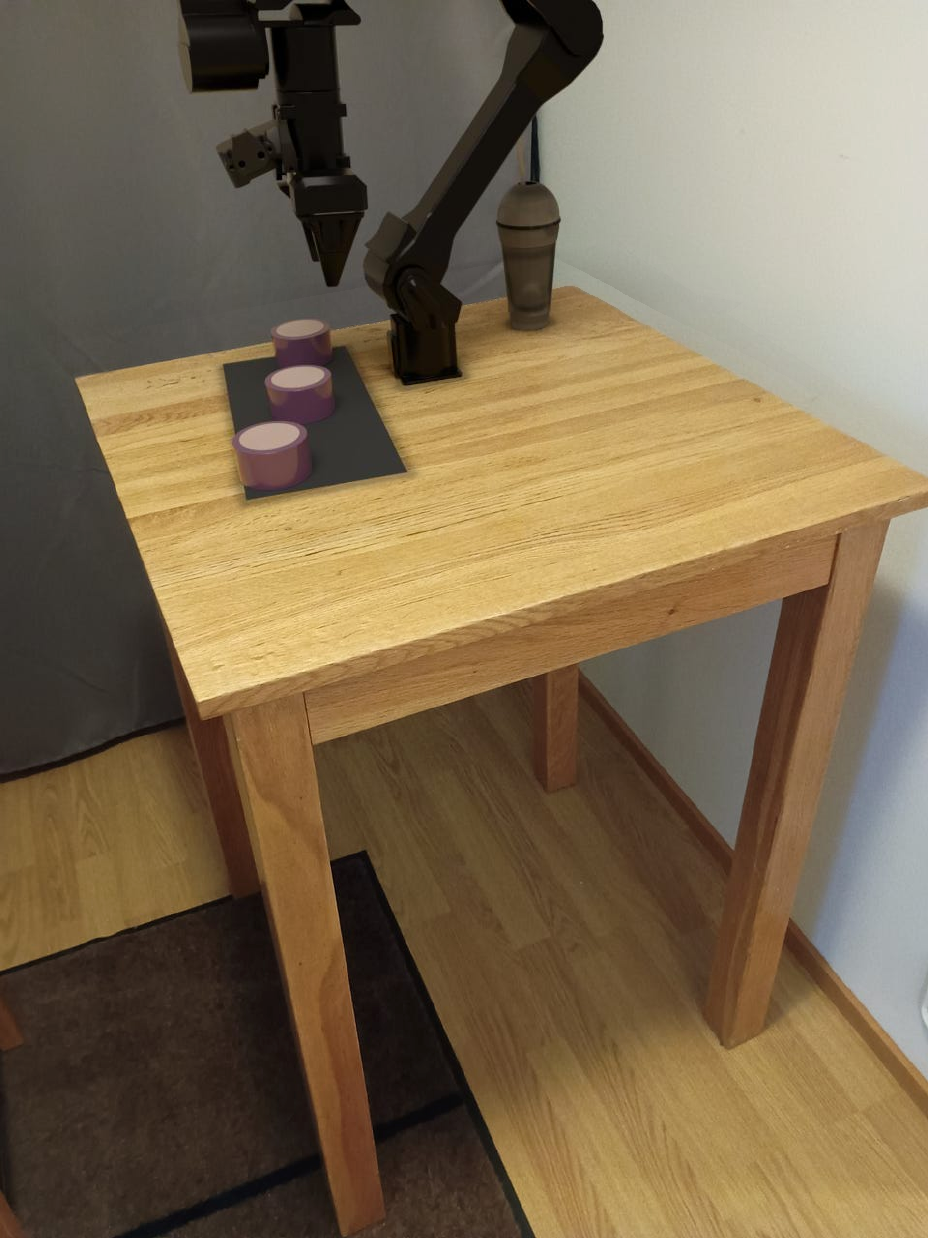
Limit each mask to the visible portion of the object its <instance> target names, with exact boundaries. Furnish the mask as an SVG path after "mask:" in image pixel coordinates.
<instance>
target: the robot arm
mask: <svg viewBox="0 0 928 1238" xmlns="http://www.w3.org/2000/svg"><path fill="white" fill-rule="evenodd" d="M293 1H294V0H176V6H177V7H176V8H177V13H178V16H177V31H178V32H177V33H178V41H176V45H177V53H178V58H179V64H180V68H181V72H182V77H183V81H184V84H185V88H186V90H187V92H188V94H189V95H201V94H219V93H220V94H221V93H238V92H240V93H241V92H256V91H258V89H259V85H260V80H266V77H269V73H270V55H271V61H272V62H271V64H272V75H273V81H274V91H275V99H273V103H270V108H271V117H272V118H271V119H270V120H268V121H266V122H264V123H261V124H258V125H256V126H253V127H251V128H247V127H245V128H243V130H242V131H241V132H239V133H237V134H234V133H232V134H230V138H228V139H225V140H224V141H222V142H220V143H218V144H216V146H215V150H216V152H217V155H218V157H219V159H220V161H221V163H222V165H223V167H224V169H225V171H226V173H227V176H228V177H229V180H230V181H231V184H232V186H233V187H234V189H240V188H243V187H246V186H247V185H249V184H251V181H253V180H255V179H256V178H259V177H261V176H263V175H265V174H268V173H269V172H271V171H272V175H273V177H274V179H275V182H276V181H277V182H276V186H277V187H278V188H279V189H278V190H280V191H281V192H282V193H283V194H284V195H285V196H286V197H287V198H288V199H290V202H291V207H292V210H291V211H292V212H293V214H294V217H295V218H296V219H297V220H298V221H299V222H300V225H301V228H302V231H303V235H304V238H305V242H306V244H307V248H308V251H309V255H310V258H311V261H312V262H314V263H319V265H320V268H321V272H322V277H323V279H324V283H325V286H326V287H327V288H336V287H338V286H339V285H340V282H341V279H342V275H343V273H344V270H345V267H346V263H347V260H348V258H349V255H350V251H351V249H352V246H353V243H354V241H355V238H356V235H357V233H358V229H359V227H360V224H361V223H362V220H363V218H364V217H365V214H366V210H369V198H368V185H367V184H366V183H364V181H363V180H362V179H361V178H360V177H359V176H358V175H357V174H356V173H355V172H353V171H352V169H351V168H352V167H351V166H352V165H351V156H350V154H348V153H347V152H346V151H347V150H346V135H345V123H344V121H345V120H344V118H348V108H347V103H346V102H345V101H343V93H342V81H341V67H340V66H341V65H340V52H339V51H340V50H339V40H338V27H350V26H351V27H352V26H354V27H355V26H359V25H361V23H362V18H361V16H360V14H358V13H357V12H356V11H355V10H354V9H353V8H352V7H351V6H350V5H349V4H348V2H347V1H346V0H324V1H323V2H294V3H292V2H293ZM498 1H499V3H500V6H501V8H502V10H503V11H504V13H505V15H506V16H507V17H508V19H509V20H510V21H511V22H512V23H513V25H514V28H513V29H512V30H513V31H512V32H511V35H510V37H509V40H508V41H507V46H506V50H505V54H504V60H503V64H502V69H501V73H500V75H499V77H498V79H497V80H496V83H495V84H494V86H492V89H491V90H490V92H489V93H488V95H487V96H486V98H485V99H484V101H483V102H482V104H481V106H480V108H479V109H478V110H477V112H476V114H475V115H474V117H473V118H472V120H471V121H470V122H469V124H468V126H467V127H466V129H465V131H464V132H463V134H462V135H461V137H460V138H459V140H458V141H457V142H456V144H455V146H454V147H453V149H452V150H451V152H450V154H449V155H448V156H447V158H446V160H445V161H444V163H443V164H442V166H441V168H440V169H439V170H438V172H437V174H436V175H435V177H434V178H433V180H432V181H431V183H430V185H429V186H428V188H427V189H426V190H425V192H424V194H423V195H422V197H421V199H420V200H419V201H418V203H417V204H416V206H415V207H414V208H413V209H411V210H410V211H409V212H407V213H405V214H404V215H403V216H402V217H400V216H399V215H396V214H395V213H394V212H391V211H387V212H386V213H385V215H384V216H383V218H382V220H381V222H380V225H379V226H378V229H377V231H376V232H375V234H374V235H373V236H372V238H370V239H369V240H368V241H366V242H365V243H364V247H365V248H366V249H368V250H367V252H366V254H365V256H364V257H363V258H364V259H363V262H362V269H363V275H364V280H365V282H366V283H367V286H368V288H370V289H371V291H373V293H375V294H376V295H377V296H378V297H379V298H380V299H382V300H383V301H384V302H385V304H386V306H387V308H389V309H390V310H392V311H394V312H395V313H391V314H389V320H390V321H389V323H390V329H387V330H386V332H385V335H386V342H387V351H388V363H389V368H390V370H391V372H392V374H393V375H394V376H396V377H397V378H398V380H399V381H400V383H401V384H402V386H404V387H409V386H416V385H422V384H427V383H433V382H441V381H445V380H452V379H458V378H462V377H463V375H464V374H463V371H462V369H461V368H460V367H459V365H458V364H459V363H458V348H457V346H458V345H457V333H456V324H457V323H458V322H459V318H460V315H461V311H462V308H463V301H462V300H461V299H460V298H458V297H457V296H456V295H455V294H454V293H452V292H451V291H449V289H447V287H445V286H444V285H443V284H442V282H443V280H444V277H446V273H447V272H448V269H449V264H450V260H451V255H452V251H453V246H454V241H455V238H456V235H457V234H458V232H459V231H460V229H461V228H462V226H463V225H464V223H465V222H466V220H467V218H469V216H470V214H471V212H472V211H473V210H474V208H475V207H476V205H477V204H478V202H479V201H480V199H481V198H482V196H483V195H484V193H485V192H486V190H487V188H488V187H489V185H490V184H491V183H492V181H493V180H494V179H495V176H496V175H497V173H499V170H500V169H501V167H502V166H503V164H504V163H505V162H506V160H507V159H508V157H509V156H510V154H511V152H512V151H513V149H514V148H515V147H516V143H517V142H518V140H519V139H521V138H522V136H523V134H524V133H525V131H526V130H527V129H528V127H529V125H530V124H531V122H532V121H533V119H535V116H536V115H537V113H538V111H539V110H540V109H541V108H542V107H543V105H545V104H546V103H547V102H549V101H550V100H551V99H552V98H554V97H555V96H557V95H559V93H561V92H562V91H563V90H565V89H566V88H568V87H569V86H570V85H572V84H573V83H574V82H575V80H577V78H578V77H579V76H580V75H581V74H582V73H583V71H584V70H586V69H587V68H588V66H590V64H591V63H592V62H593V61H594V60H595V58H596V57H597V56H598V55H599V52H600V50H601V48H602V46H603V43H604V39H605V34H604V21H603V16H602V13H601V12H602V11H601V10H600V8H599V7H598V5H597V4H596V2H595V1H594V0H498ZM291 3H292V4H291ZM290 4H291V5H290ZM289 5H290V8H289V12H288V17H279V18H277V17H276V18H260V17H259V12H260V11H261V12H262V11H263V12H265V11H266V12H267V11H283V10H284V9H285V8H286V7H287V6H289ZM266 29H268V36H269V45H268V39H267V33H266ZM269 46H270V50H269ZM269 51H270V52H269ZM283 176H284V180H283Z"/></svg>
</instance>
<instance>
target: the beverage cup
mask: <svg viewBox="0 0 928 1238" xmlns="http://www.w3.org/2000/svg"><path fill="white" fill-rule="evenodd" d="M515 147H516V155H517V163H518V164H517V165H518V173H519V182H517V183H514V184H513V185H512V186H510V187H509V188H508V190H507V191H505V192H504V195H503V196H502V198H501V199H500V202H499V203H498V204H499V205H498V207H497V212H496V220H495V225H496V226H497V235H498V239H499V242H500V245H501V255H502V263H503V273H504V283H505V291H506V299H507V301H506V302H507V309H508V313H509V319H510V325H511V327H512V328H513V329H515V330H516V329H517V330H521V331H535V330H540V329H544V328H546V327H547V326H548V325H549V322H550V320H549V318H550V313H551V312H550V311H551V305H552V295H553V281H554V271H555V259H556V247H557V246H556V245H557V241H558V236H559V232H560V224H561V221H562V218H561V216H560V207H559V204H558V201H557V199H556V196H555V195H554V194H553V192H552V191H551V190H550V189H549V188H548V187H547V186H546V185H545V184H543V183H542V182H539V181H537V180H526V177H525V169H524V167H525V166H524V158H523V149H522V140H521V138H520V139H519V140H518V142H517V143H516V145H515Z"/></svg>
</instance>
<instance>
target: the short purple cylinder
mask: <svg viewBox="0 0 928 1238" xmlns="http://www.w3.org/2000/svg"><path fill="white" fill-rule="evenodd" d="M331 331H332V330H331V326H330V324H329V322H327V321H325V320H322V319H317V318H301V319H300V318H299V319H293V320H287V321H285V322H282V323H279V324H277V325H276V326H273V327H272V328H271V330H270V338H271V343H272V349H273V354H274V356H275V360H276V364H277V366H279V367H280V368H287V367H291V366H298V365H315V366H324V365H326V364H328V363H330V362H331V361H332V360H333V358H334V352H333V339H332V333H331Z"/></svg>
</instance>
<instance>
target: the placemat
mask: <svg viewBox="0 0 928 1238" xmlns="http://www.w3.org/2000/svg"><path fill="white" fill-rule="evenodd" d="M333 352H334V358H333V360H332V361H331V362H330V363H328V364H326V365H324V366H321V367H324V368H326V369H328V370H329V371H330V372H331V376H332V383H333V389H334V396H335V403H336V410H335V412H334V413H333V414H332V415H330V416H329V417H327V418H325V419H323V420H321V421H317V422H314V423H309V424H301V425H302V426H303V427H305V429H306V430H307V434H308V440H309V446H310V452H311V457H312V463H313V472H312V474H311V475H310V477H309V478H307V479H306V480H305V481H303V482H301V483H300V484H297V485H295V486H292V487H289V488H285V489H280V490H272V491H262V490H255V489H251V488H248V487H246V486H245V485H243V489H244V493H245V494H244V495H245V499H246V500H245V501H251V500H252V501H253V500H256V499H257V500H258V499H261V498H262V499H263V498H269V497H274V496H279V495H285V494H292V493H297V492H303V491H308V490H315V489H319V488H326V487H331V486H336V485H337V486H338V485H342V484H347V483H354V482H358V481H365V480H370V479H376V478H382V477H387V476H393V475H398V474H399V475H400V474H404V473H408V470H407V468H406V466H405V464H404V462H403V460H402V458H401V456H400V454H399V452H398V450H397V448H396V446H395V443H394V441H393V440H392V438H391V436H390V434H389V432H388V430H387V427H386V426H385V423H384V421H383V420H382V417H381V415H380V413H379V411H378V409H377V407H376V405H375V403H374V401H373V399H372V397H371V394H370V393H369V391H368V389H367V387H366V384H365V383H364V381H363V379H362V377H361V374H360V373H359V371H358V367H357V366H356V365H355V362H354V360H353V358H352V357H351V354H350V353H349V350H348V348H347V346H346V345H340V346H335V347H333ZM222 367H223V368H222V369H223V371H224V380H225V386H226V391H227V396H228V403H229V407H230V413H231V419H232V420H231V421H232V427H233V431H234V436H235V435H236V434H237V433H238V432H240V431H241V430H243V429H245V428H247V427H249V426H252V425H255V424H259V423H264V422H270V421H275V420H274V419H273V418H272V417H271V413H270V408H269V403H268V397H267V392H266V387H265V379H266V377H267V376H268V375H270V374H271V373H273V372H275V371H277V370H280V369H283V368H280V367H279V366H277V364H276V360H275V355H274V356H267V357H259V358H253V359H246V360H240V361H233V362H227V363H222Z"/></svg>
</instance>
